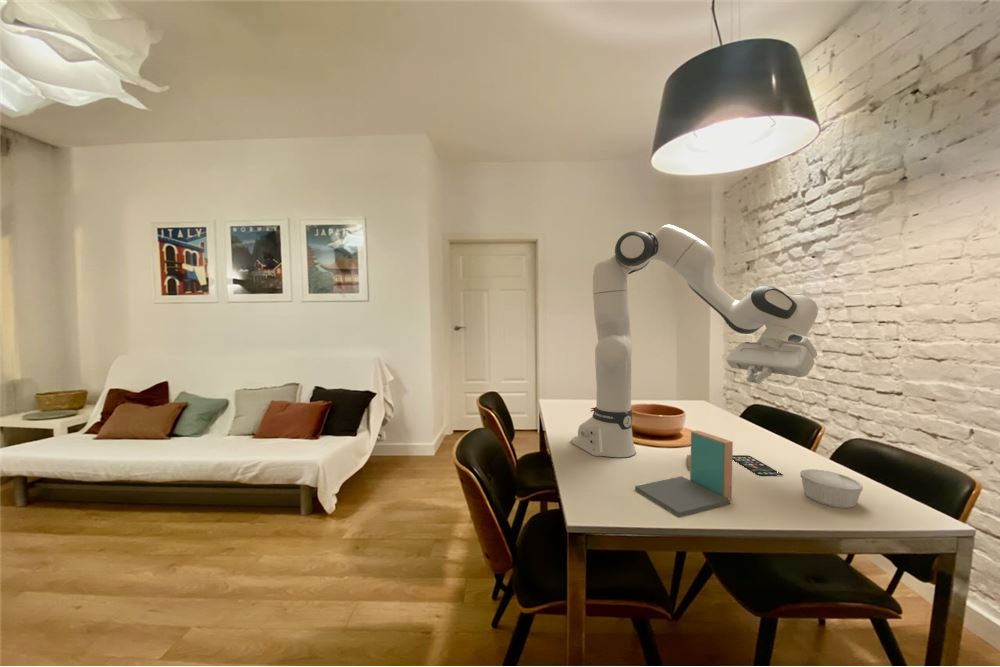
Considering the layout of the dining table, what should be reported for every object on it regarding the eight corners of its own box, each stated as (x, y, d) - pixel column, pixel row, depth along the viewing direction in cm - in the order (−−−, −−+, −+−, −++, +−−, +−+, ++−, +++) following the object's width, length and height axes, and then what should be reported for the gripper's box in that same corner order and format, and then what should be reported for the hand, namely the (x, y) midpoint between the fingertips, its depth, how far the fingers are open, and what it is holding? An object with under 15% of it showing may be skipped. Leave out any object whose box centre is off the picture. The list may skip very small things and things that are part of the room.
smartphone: (758, 475, 104) (726, 455, 119) (758, 477, 104) (726, 457, 119) (785, 475, 103) (749, 455, 118) (784, 477, 104) (749, 457, 119)
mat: (635, 489, 95) (635, 486, 95) (681, 479, 101) (681, 476, 101) (679, 516, 82) (679, 512, 82) (729, 503, 88) (730, 499, 88)
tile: (689, 482, 100) (690, 431, 99) (696, 481, 100) (697, 430, 100) (723, 499, 90) (725, 443, 90) (731, 497, 91) (732, 441, 91)
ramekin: (875, 511, 85) (876, 489, 84) (826, 511, 85) (826, 488, 85) (832, 489, 96) (833, 469, 96) (788, 488, 96) (789, 468, 96)
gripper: (736, 334, 111) (712, 368, 108) (814, 338, 92) (788, 379, 89) (746, 349, 113) (722, 382, 110) (825, 355, 94) (799, 396, 91)
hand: (752, 381), depth 99 cm, fingers closed
